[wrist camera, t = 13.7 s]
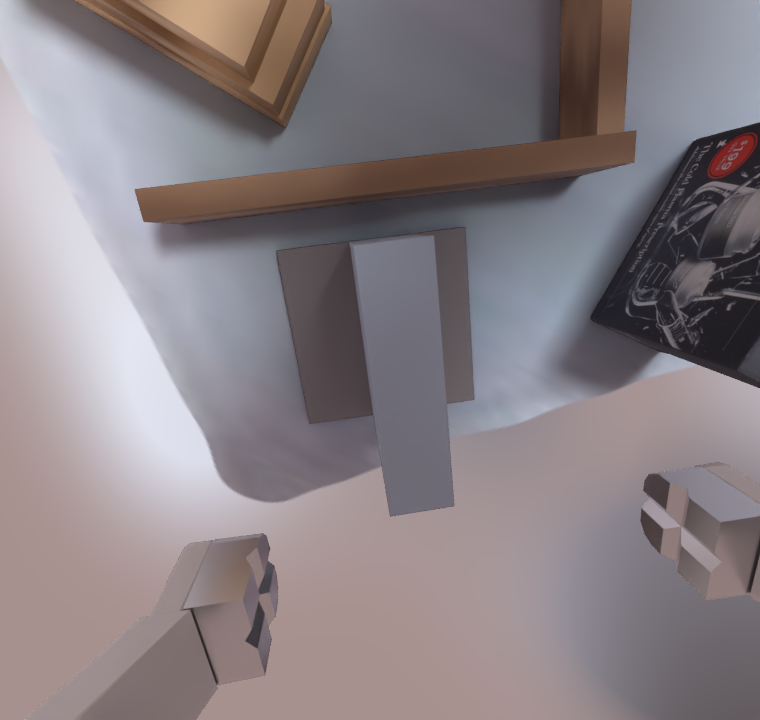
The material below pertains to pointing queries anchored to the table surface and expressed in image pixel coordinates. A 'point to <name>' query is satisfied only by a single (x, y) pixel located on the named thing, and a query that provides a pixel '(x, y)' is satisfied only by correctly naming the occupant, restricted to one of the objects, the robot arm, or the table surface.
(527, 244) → the table surface
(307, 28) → the offcut stack
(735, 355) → the small box
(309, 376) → the charcoal mat
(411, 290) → the gray block
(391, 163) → the walnut rack
